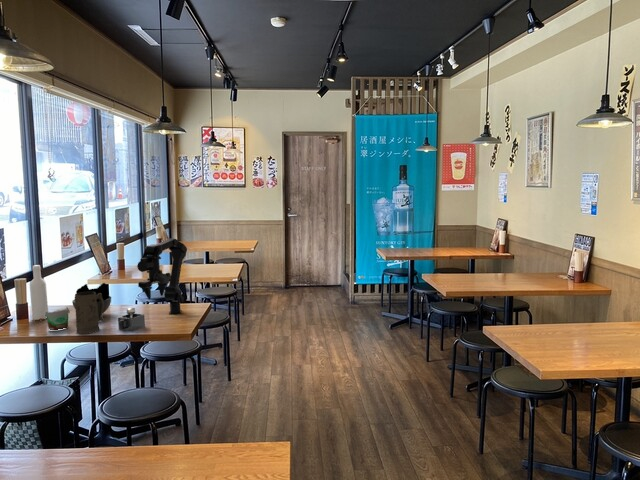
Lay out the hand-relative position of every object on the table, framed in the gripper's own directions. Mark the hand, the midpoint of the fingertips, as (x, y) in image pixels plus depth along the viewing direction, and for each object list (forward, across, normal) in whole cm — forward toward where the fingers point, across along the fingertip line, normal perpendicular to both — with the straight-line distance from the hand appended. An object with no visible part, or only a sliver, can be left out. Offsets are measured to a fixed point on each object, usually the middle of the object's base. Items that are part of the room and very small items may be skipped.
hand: (155, 297), depth 278 cm
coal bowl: (+13, -6, +41) cm, 44 cm away
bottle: (+13, -20, +65) cm, 70 cm away
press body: (+13, -17, +3) cm, 21 cm away
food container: (+13, -30, +36) cm, 49 cm away
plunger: (+13, -15, +3) cm, 20 cm away
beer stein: (+13, -25, +20) cm, 35 cm away
